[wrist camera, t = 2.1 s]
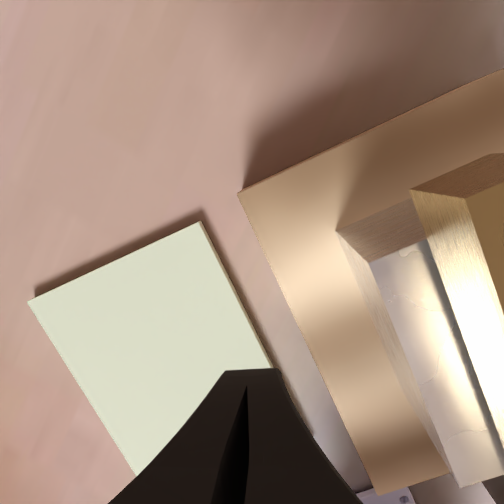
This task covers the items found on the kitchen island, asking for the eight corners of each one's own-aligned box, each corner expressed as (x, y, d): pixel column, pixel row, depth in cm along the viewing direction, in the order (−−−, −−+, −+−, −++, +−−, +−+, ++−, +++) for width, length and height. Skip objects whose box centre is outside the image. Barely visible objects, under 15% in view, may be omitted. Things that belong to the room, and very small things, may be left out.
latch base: (563, 388, 19) (776, 549, 11) (365, 455, 20) (427, 640, 13) (467, 83, 16) (669, -1, 8) (242, 189, 17) (219, 209, 9)
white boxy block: (514, 350, 15) (627, 435, 11) (402, 391, 16) (459, 488, 11) (456, 177, 14) (557, 184, 9) (334, 230, 15) (368, 263, 10)
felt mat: (310, 442, 20) (312, 450, 20) (158, 496, 22) (154, 505, 21) (200, 220, 18) (198, 222, 17) (34, 297, 19) (26, 302, 19)
